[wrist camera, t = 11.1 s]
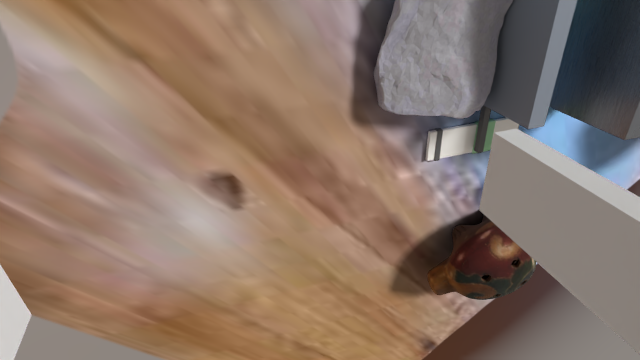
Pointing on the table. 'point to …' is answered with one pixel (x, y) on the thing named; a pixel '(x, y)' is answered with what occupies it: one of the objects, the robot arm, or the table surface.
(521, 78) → the gauge plate
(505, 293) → the decorative turtle
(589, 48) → the dark gray block
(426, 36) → the stone block
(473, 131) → the pale flat strip
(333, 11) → the table surface
